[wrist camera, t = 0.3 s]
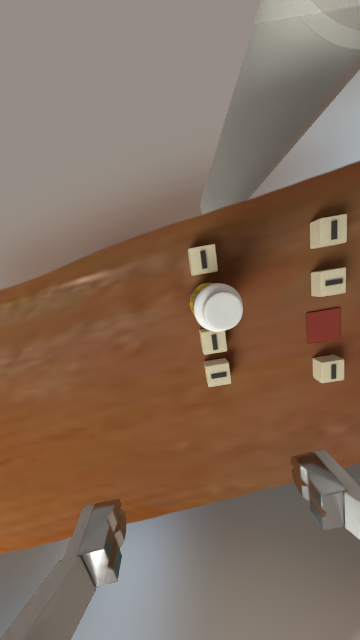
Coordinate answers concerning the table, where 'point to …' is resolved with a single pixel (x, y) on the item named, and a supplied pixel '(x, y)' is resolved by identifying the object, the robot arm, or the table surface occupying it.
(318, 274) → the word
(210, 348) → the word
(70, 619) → the robot arm
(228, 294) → the supplement bottle
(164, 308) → the table surface
